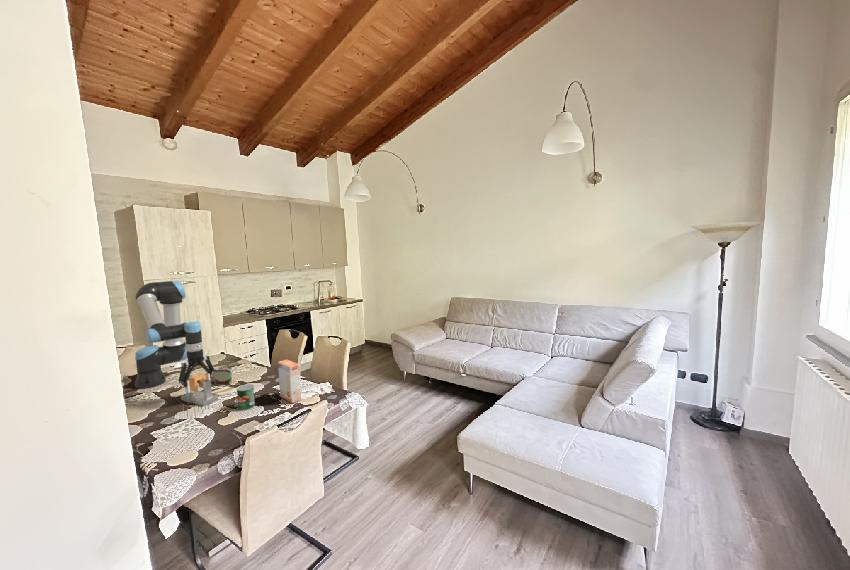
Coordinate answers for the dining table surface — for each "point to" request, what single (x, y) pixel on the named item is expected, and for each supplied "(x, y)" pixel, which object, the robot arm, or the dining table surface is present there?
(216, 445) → the dining table surface
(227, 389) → the pad
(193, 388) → the orange notched sleeve
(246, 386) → the canned tomato
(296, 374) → the cracker box
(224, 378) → the food container
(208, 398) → the rail stand
